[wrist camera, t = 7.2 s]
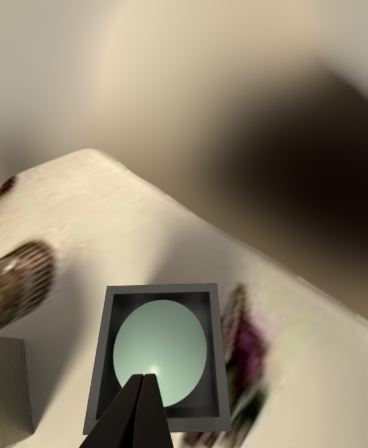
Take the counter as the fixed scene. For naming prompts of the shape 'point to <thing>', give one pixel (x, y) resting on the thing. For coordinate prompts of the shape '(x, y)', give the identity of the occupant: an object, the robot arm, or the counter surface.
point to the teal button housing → (212, 374)
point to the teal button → (162, 348)
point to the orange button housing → (13, 394)
